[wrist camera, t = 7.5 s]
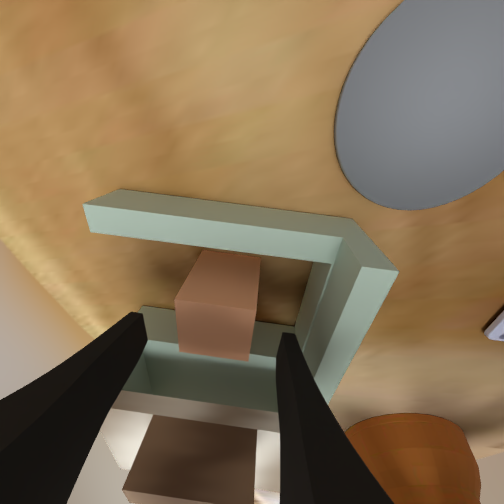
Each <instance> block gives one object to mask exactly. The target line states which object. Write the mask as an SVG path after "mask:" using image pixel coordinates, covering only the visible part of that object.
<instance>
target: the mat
mask: <svg viewBox="0 0 504 504" xmlns="http://www.w3.org/2000/svg"><path fill="white" fill-rule="evenodd" d="M334 141H335V149H336V155H337V158H338V161H339V164H340V167H341V169H342V171H343V173H344V175H345V177H346V178H347V180H348V181H349V183H350V184H351V185H352V186H353V187H354V188H355V189H356V190H357V191H358V192H359V193H361V194H362V195H363V196H365V197H366V198H367V199H369V200H371V201H373V202H374V203H376V204H379V205H382V206H384V207H387V208H392V209H398V210H421V209H427V208H433V207H436V206H440V205H444V204H447V203H449V202H452V201H454V200H457V199H459V198H461V197H463V196H466V195H468V194H470V193H472V192H473V191H475V190H477V189H478V188H480V187H482V186H483V185H485V184H486V183H488V182H489V181H490V180H492V179H493V178H495V177H496V176H497V175H499V174H500V173H501V172H502V171H503V170H504V0H405V1H403V2H402V3H401V4H400V5H399V6H398V7H397V8H396V9H395V10H394V11H393V12H392V13H391V14H390V15H389V16H388V17H387V18H386V19H385V20H384V21H383V22H382V23H381V24H380V25H379V27H378V28H377V29H376V30H375V31H374V33H373V34H372V35H371V36H370V38H369V39H368V40H367V42H366V43H365V45H364V46H363V48H362V49H361V51H360V52H359V54H358V56H357V57H356V59H355V61H354V63H353V65H352V67H351V69H350V70H349V73H348V75H347V77H346V80H345V82H344V85H343V87H342V91H341V94H340V97H339V100H338V105H337V110H336V115H335V125H334Z"/></svg>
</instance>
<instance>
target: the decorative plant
mask: <svg viewBox="0 0 504 504" xmlns="http://www.w3.org/2000/svg"><path fill="white" fill-rule="evenodd" d="M345 435H346V436H347V438H348V439H349V441H350V442H351V444H352V445H353V447H354V448H355V450H356V451H357V453H358V454H359V455H360V457H361V458H362V460H363V461H364V463H365V464H366V466H367V467H368V469H369V470H370V471H371V473H372V474H373V476H374V477H375V478H376V480H377V481H378V482H379V484H380V485H381V486H382V488H383V489H384V490H385V492H386V493H387V494H388V496H389V497H390V498H391V500H392V501H393V502H394V504H481V503H480V501H479V500H480V489H481V482H480V475H479V468H478V465H477V462H476V460H475V458H474V455H473V453H472V451H471V449H470V446H469V444H468V442H467V440H466V437H465V435H464V433H463V431H462V429H461V428H460V427H459V426H458V425H456V424H454V423H453V422H451V421H449V420H446V419H443V418H441V417H436V416H432V415H426V414H417V413H399V414H388V415H382V416H377V417H373V418H370V419H366V420H364V421H361V422H359V423H357V424H355V425H353V426H352V427H350V428H349V429H348V430H347V431H346V432H345Z"/></svg>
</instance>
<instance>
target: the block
mask: <svg viewBox="0 0 504 504" xmlns="http://www.w3.org/2000/svg"><path fill="white" fill-rule="evenodd" d="M260 263H261V257H253V256H246V255H238V254H231V253H223V252H216V251H208V250H202V252H201V253H200V255H199V257H198V259H197V260H196V262H195V264H194V266H193V267H192V269H191V271H190V273H189V274H188V276H187V278H186V280H185V281H184V283H183V285H182V287H181V288H180V290H179V292H178V294H177V295H176V297H175V299H174V302H175V312H176V323H177V334H178V344H179V352H184V353H191V354H198V355H205V356H212V357H219V358H226V359H233V360H240V361H249V354H250V348H251V342H252V335H253V329H254V323H255V316H256V310H257V298H258V287H259V275H260Z"/></svg>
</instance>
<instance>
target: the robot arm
mask: <svg viewBox="0 0 504 504" xmlns="http://www.w3.org/2000/svg"><path fill="white" fill-rule="evenodd" d="M484 334H485V335H486V336H487V337H488V338H489V339H491V340H498V341H504V311H503V312H502V313H501V314H500V315H499V316H498V317H497V318H496V319H495V321H494V322H493V323H492V324H491V325H490V326H489V327H488V328H487V329H486V330H485V332H484ZM147 341H148V337H147V332H146V327H145V322H144V317H143V313H137V312H130V313H129V314H127V315H126V316H125V317H123V318H122V319H121V320H120V321H118V322H117V323H116V324H114V325H113V326H112V327H111V328H109V329H108V330H107V331H105V332H104V333H103V334H101V335H100V336H99V337H97V338H96V339H95V340H93V341H92V342H91V343H89V344H88V345H87V346H85V347H84V348H83V349H81V350H80V351H78V352H77V353H75V354H74V355H73V356H71V357H70V358H68V359H67V360H65V361H64V362H63V363H61V364H60V365H58V366H57V367H55V368H53V369H52V370H50V371H49V372H47V373H46V374H44V375H42V376H41V377H39V378H38V379H36V380H34V381H33V382H31V383H30V384H28V385H26V386H24V387H23V388H21V389H19V390H17V391H16V392H14V393H12V394H10V395H9V396H7V397H5V398H3V399H1V400H0V504H67V501H68V499H69V497H70V494H71V492H72V489H73V487H74V485H75V483H76V481H77V478H78V476H79V474H80V471H81V469H82V467H83V465H84V463H85V460H86V458H87V456H88V454H89V452H90V449H91V447H92V445H93V443H94V441H95V438H96V437H97V435H98V433H99V431H100V429H101V427H102V424H103V422H104V420H105V418H106V416H107V415H108V413H109V411H110V409H111V407H112V405H113V404H114V402H115V400H116V399H117V397H118V395H119V394H120V392H121V390H122V389H123V387H124V385H125V383H126V382H127V380H128V378H129V377H130V375H131V373H132V372H133V370H134V368H135V366H136V365H137V363H138V361H139V359H140V357H141V355H142V353H143V350H144V348H145V346H146V343H147ZM276 391H277V404H278V417H279V429H280V504H394V502H393V501H392V500H391V498H390V497H389V496H388V494H387V493H386V492H385V490H384V489H383V488H382V486H381V485H380V484H379V482H378V481H377V480H376V478H375V477H374V476H373V474H372V473H371V471H370V470H369V469H368V467H367V466H366V464H365V463H364V461H363V460H362V458H361V457H360V455H359V454H358V453H357V451H356V450H355V448H354V447H353V445H352V444H351V442H350V441H349V439H348V438H347V436H346V435H345V433H344V431H343V430H342V428H341V427H340V425H339V423H338V422H337V420H336V418H335V417H334V415H333V413H332V412H331V410H330V408H329V406H328V405H327V403H326V401H325V399H324V397H323V395H322V393H321V392H320V390H319V388H318V386H317V384H316V382H315V380H314V378H313V375H312V373H311V371H310V369H309V367H308V365H307V362H306V360H305V358H304V355H303V353H302V350H301V348H300V345H299V342H298V340H297V337H296V335H295V334H294V333H287V332H282V336H281V340H280V344H279V347H278V351H277V355H276Z"/></svg>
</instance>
